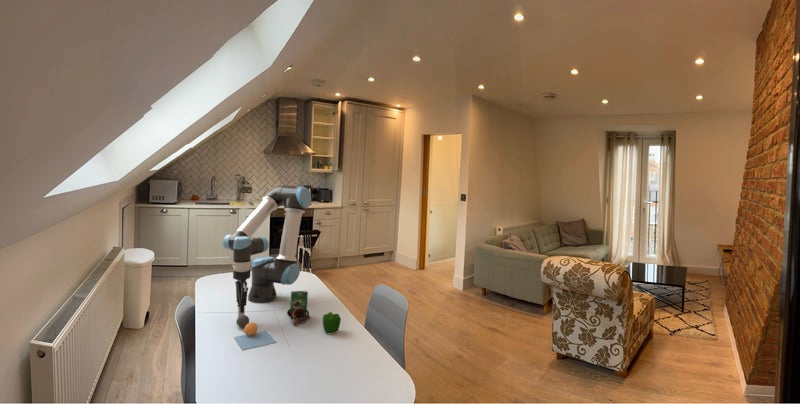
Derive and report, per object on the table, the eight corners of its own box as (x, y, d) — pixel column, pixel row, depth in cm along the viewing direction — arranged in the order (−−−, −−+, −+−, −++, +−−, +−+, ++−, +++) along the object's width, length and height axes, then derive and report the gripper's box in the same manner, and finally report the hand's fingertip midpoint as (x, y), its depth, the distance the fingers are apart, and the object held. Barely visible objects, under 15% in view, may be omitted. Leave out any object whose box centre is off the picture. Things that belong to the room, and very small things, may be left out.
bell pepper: (331, 326, 190) (332, 306, 189) (343, 331, 184) (344, 310, 184) (317, 331, 183) (318, 310, 182) (329, 337, 178) (330, 315, 177)
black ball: (249, 314, 183) (250, 326, 183) (247, 313, 188) (248, 324, 187) (236, 317, 180) (238, 329, 180) (235, 315, 185) (236, 327, 185)
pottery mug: (312, 320, 198) (313, 309, 193) (303, 334, 190) (304, 323, 185) (290, 311, 199) (291, 300, 195) (280, 325, 192) (281, 314, 187)
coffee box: (305, 314, 203) (306, 289, 201) (307, 317, 200) (307, 291, 199) (289, 316, 199) (290, 291, 198) (290, 318, 197) (291, 292, 195)
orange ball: (256, 319, 178) (259, 327, 174) (254, 328, 180) (258, 336, 176) (243, 321, 175) (246, 329, 171) (242, 331, 177) (245, 339, 173)
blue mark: (265, 330, 181) (265, 330, 181) (276, 342, 170) (276, 342, 170) (233, 337, 173) (233, 337, 173) (242, 350, 162) (242, 349, 162)
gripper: (230, 267, 190) (229, 315, 192) (237, 274, 179) (236, 325, 181) (246, 265, 194) (245, 312, 196) (254, 272, 184) (253, 321, 186)
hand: (241, 318), depth 189 cm, fingers closed
